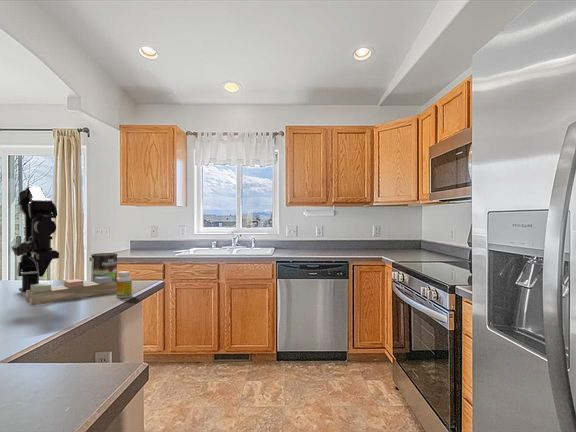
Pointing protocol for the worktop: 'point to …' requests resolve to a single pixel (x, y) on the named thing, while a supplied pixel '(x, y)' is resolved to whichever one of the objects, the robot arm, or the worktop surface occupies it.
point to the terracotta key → (73, 283)
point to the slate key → (102, 279)
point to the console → (69, 292)
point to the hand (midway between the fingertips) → (40, 276)
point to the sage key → (40, 287)
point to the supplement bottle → (124, 285)
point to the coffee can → (104, 265)
